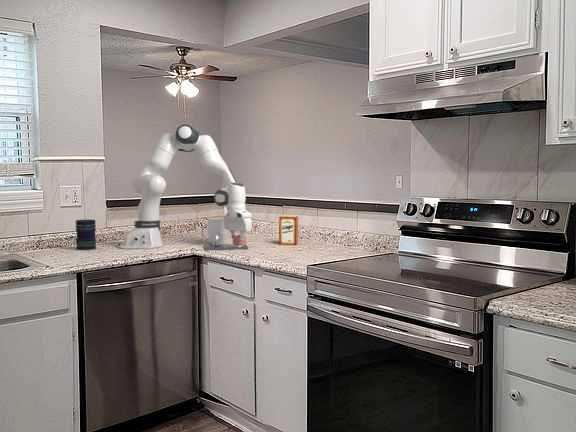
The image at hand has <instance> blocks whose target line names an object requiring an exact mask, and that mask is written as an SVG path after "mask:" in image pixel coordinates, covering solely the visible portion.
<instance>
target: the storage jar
mask: <svg viewBox="0 0 576 432" xmlns="http://www.w3.org/2000/svg"><path fill="white" fill-rule="evenodd" d="M96 230H97V229H96V220H95V219H77V220H75V232H76V240H75V241H76V242H75V243H76V251H91V250H93V251H94V250H96V249H97V247H96V246H97V238H96Z"/></svg>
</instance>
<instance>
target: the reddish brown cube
mask: <svg viewBox="0 0 576 432" xmlns="http://www.w3.org/2000/svg"><path fill="white" fill-rule="evenodd" d="M240 235H241V234H237V235H236V236H233V239H232V244H234V245H238V246H241V245H247V236H245V235H244V239H243V240H239V237H240Z"/></svg>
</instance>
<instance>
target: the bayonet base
mask: <svg viewBox="0 0 576 432" xmlns="http://www.w3.org/2000/svg"><path fill="white" fill-rule="evenodd" d="M204 249H205V251H233V250H234V251H236V250H235V249H244V250H249V246H248V245H247V244H246V245H241V246H238V245H234V244H233V243H231V244H221V243H219V235H214V243H213V244H204Z"/></svg>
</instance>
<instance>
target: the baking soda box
mask: <svg viewBox="0 0 576 432" xmlns="http://www.w3.org/2000/svg"><path fill="white" fill-rule="evenodd" d="M278 218H279V220H278V221H279V225H278V226H279V227H278V229H279V230H278V231H279V232H278V236H279V237H278V238H279V239H278V241H279V242H278V243H279V246H297V245H298V244H299V216H298V215H289V214H288V215H280V216H279V217H278Z"/></svg>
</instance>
